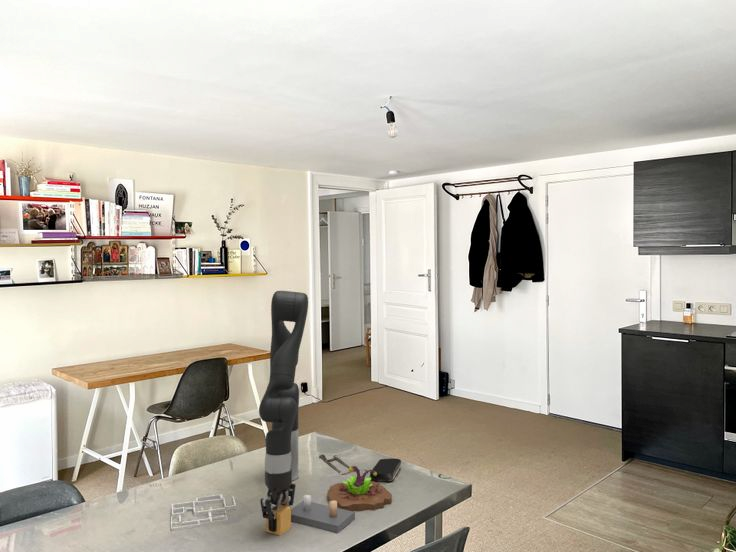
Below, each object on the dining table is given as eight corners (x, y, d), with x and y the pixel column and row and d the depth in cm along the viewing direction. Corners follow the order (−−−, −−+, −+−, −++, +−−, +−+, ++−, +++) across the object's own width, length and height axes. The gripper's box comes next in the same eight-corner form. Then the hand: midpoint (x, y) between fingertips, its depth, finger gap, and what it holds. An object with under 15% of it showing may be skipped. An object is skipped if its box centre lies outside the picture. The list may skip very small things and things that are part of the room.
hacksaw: (318, 457, 220) (318, 454, 220) (342, 453, 225) (342, 450, 225) (344, 479, 199) (344, 474, 198) (370, 474, 203) (370, 469, 203)
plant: (319, 492, 187) (319, 458, 187) (373, 483, 194) (373, 451, 194) (339, 517, 168) (339, 480, 168) (398, 507, 176) (398, 471, 176)
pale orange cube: (266, 531, 159) (266, 510, 159) (276, 524, 163) (276, 503, 163) (280, 535, 157) (280, 514, 156) (291, 527, 161) (290, 507, 161)
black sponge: (392, 484, 193) (392, 474, 193) (368, 482, 196) (368, 471, 195) (402, 468, 209) (402, 458, 209) (380, 466, 211) (380, 456, 211)
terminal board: (285, 519, 166) (285, 499, 166) (303, 506, 175) (303, 487, 175) (338, 533, 158) (338, 511, 158) (354, 518, 167) (355, 498, 167)
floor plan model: (230, 490, 189) (230, 484, 189) (238, 522, 165) (238, 515, 165) (171, 497, 183) (171, 491, 183) (171, 532, 159) (171, 525, 159)
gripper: (282, 457, 168) (282, 514, 168) (251, 473, 155) (251, 534, 155) (303, 461, 164) (303, 519, 165) (274, 478, 151) (274, 541, 152)
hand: (278, 526), depth 160 cm, fingers closed on pale orange cube, 5 cm apart
